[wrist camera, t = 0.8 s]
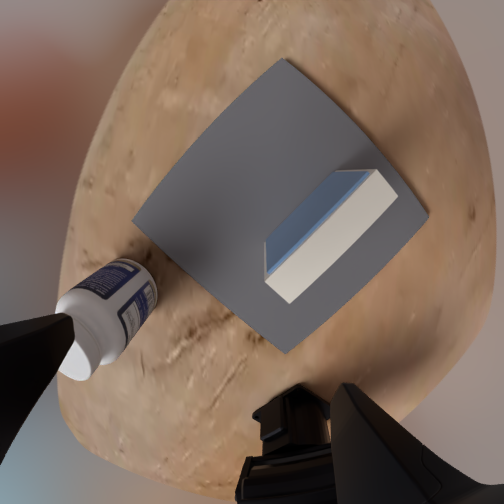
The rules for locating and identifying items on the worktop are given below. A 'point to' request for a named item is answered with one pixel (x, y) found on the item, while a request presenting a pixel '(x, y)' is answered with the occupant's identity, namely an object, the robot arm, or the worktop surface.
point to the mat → (272, 203)
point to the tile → (323, 229)
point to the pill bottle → (106, 315)
